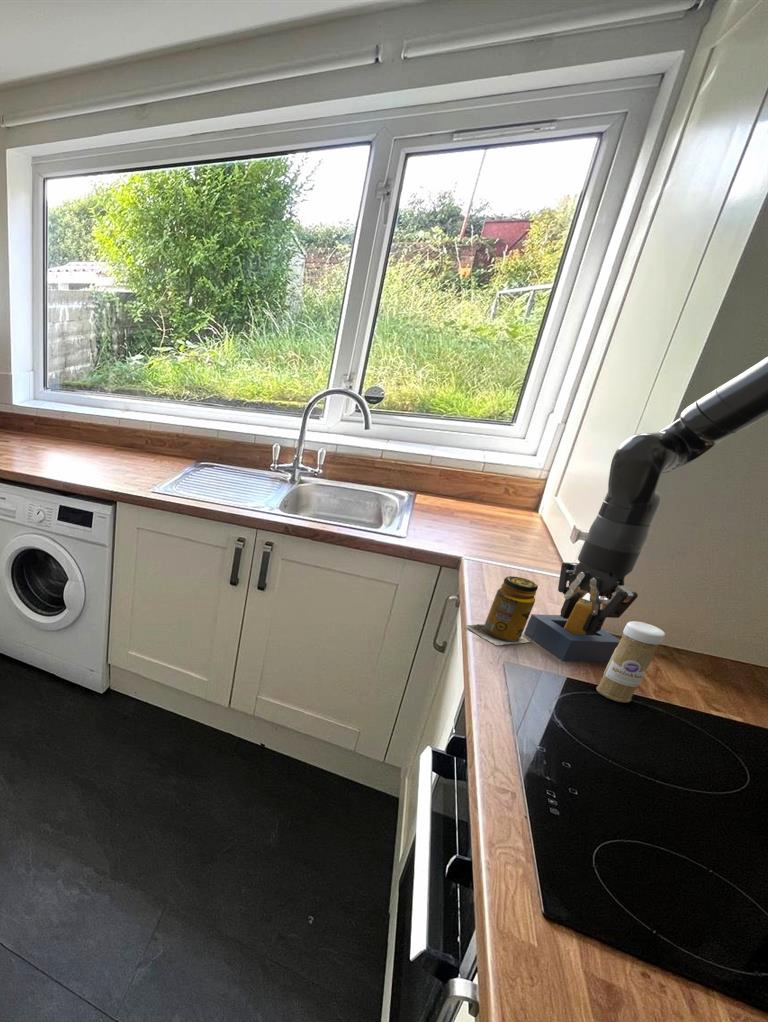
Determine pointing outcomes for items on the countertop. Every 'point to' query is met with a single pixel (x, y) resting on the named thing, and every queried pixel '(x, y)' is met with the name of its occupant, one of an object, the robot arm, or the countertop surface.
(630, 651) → the sprinkles bottle
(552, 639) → the socket block
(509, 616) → the condiment
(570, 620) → the supplement box
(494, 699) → the countertop surface
